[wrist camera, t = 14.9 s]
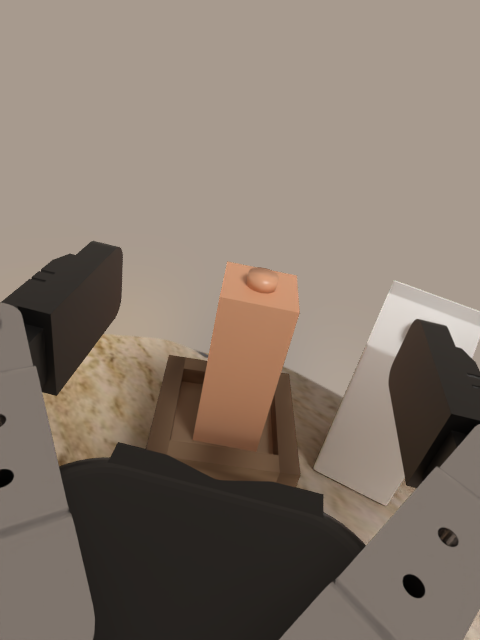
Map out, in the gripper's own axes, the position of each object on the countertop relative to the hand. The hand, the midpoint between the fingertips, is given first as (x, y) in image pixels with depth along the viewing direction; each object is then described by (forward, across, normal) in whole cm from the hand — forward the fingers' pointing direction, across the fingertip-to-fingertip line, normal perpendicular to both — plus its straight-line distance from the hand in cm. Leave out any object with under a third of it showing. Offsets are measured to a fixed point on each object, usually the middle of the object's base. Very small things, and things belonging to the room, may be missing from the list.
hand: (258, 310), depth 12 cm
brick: (+15, 0, +21) cm, 26 cm away
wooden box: (+15, +1, +27) cm, 31 cm away
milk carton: (+20, -13, +27) cm, 36 cm away
